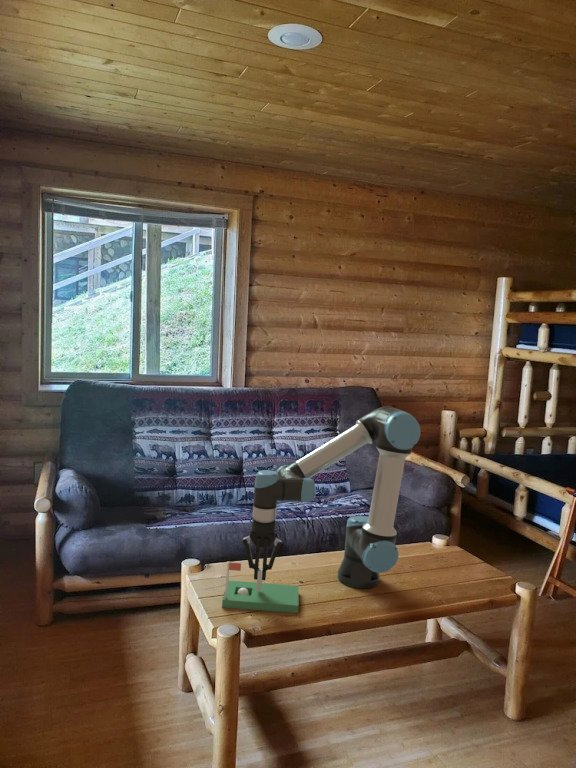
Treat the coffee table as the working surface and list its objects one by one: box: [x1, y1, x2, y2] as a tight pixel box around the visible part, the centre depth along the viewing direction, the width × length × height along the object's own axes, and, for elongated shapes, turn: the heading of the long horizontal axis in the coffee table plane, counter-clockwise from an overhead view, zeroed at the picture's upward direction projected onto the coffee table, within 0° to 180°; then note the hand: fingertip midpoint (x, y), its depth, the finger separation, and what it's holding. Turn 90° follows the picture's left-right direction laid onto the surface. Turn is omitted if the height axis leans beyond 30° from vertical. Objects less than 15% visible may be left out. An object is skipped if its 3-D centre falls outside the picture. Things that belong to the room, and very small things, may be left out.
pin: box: [224, 561, 242, 599], centre depth 186 cm, size 4×1×12 cm, turn 89°
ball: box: [237, 588, 249, 595], centre depth 192 cm, size 4×4×4 cm
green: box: [221, 580, 300, 614], centre depth 192 cm, size 24×14×2 cm, turn 89°
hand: (259, 588), depth 192 cm, fingers closed
